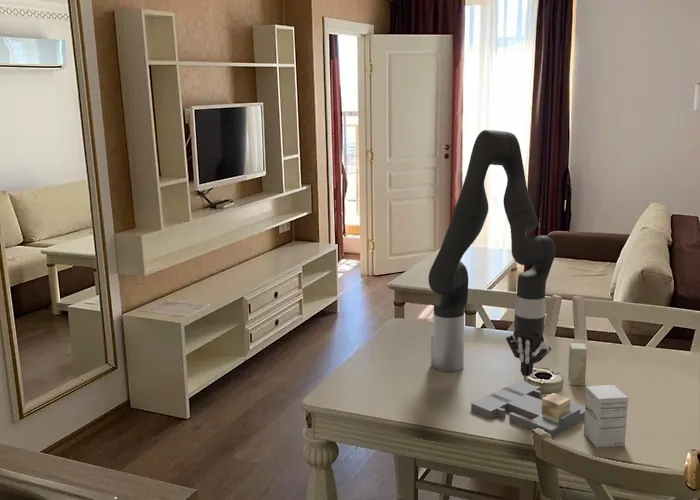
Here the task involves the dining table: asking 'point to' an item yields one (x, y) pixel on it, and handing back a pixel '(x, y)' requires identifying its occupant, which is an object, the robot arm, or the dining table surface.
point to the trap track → (526, 408)
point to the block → (555, 405)
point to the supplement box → (605, 415)
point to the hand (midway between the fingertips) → (526, 375)
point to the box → (577, 364)
